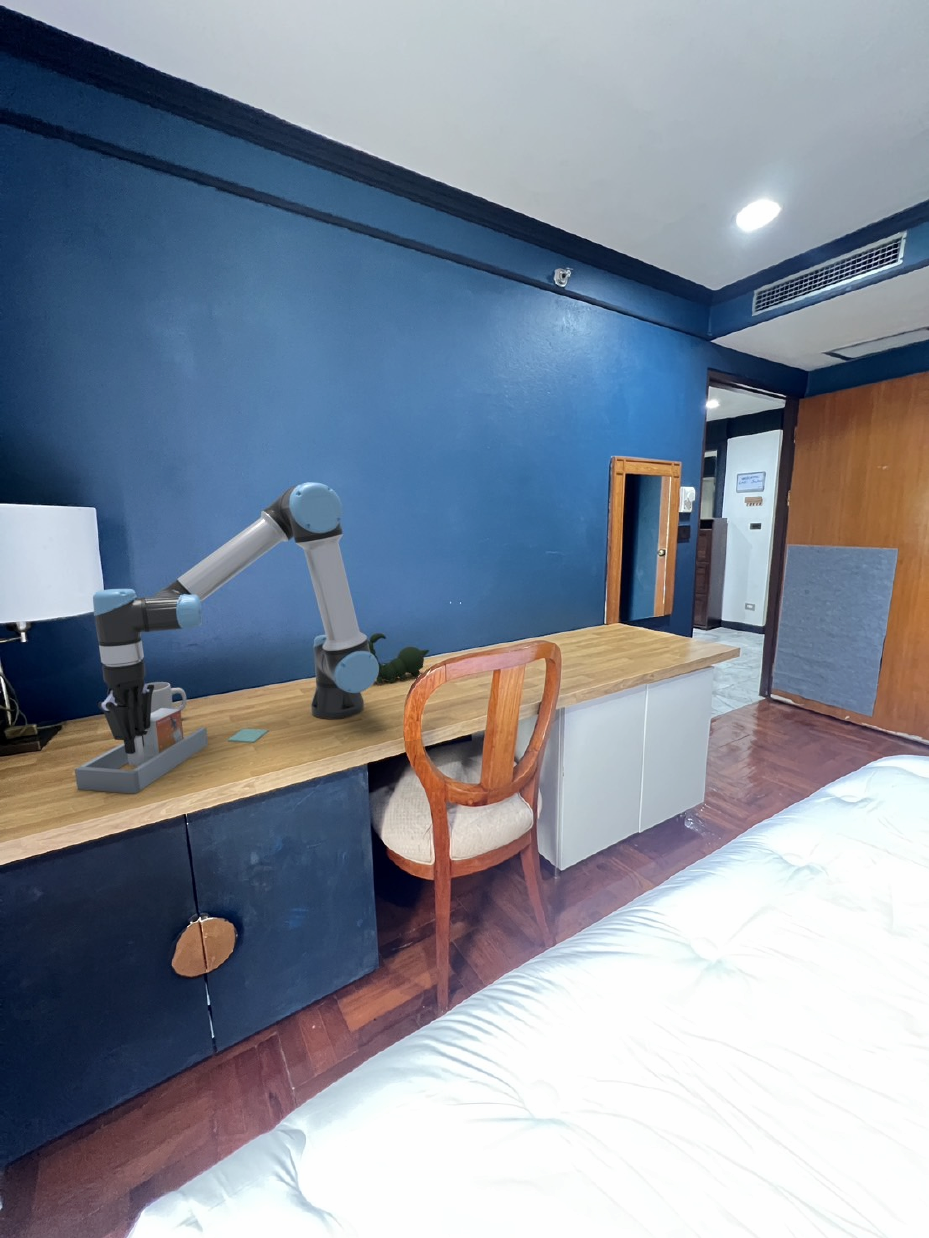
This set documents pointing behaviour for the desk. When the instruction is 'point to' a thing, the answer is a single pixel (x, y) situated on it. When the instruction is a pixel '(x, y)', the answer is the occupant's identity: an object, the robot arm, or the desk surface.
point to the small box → (162, 732)
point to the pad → (248, 735)
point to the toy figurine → (399, 662)
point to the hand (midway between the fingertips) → (137, 764)
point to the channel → (112, 779)
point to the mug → (165, 696)
